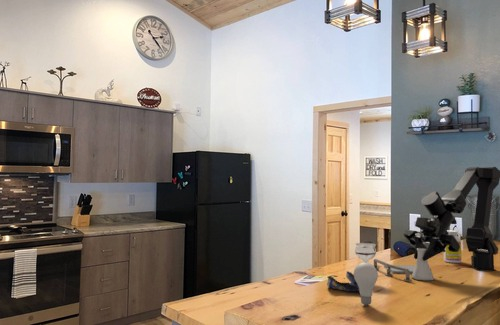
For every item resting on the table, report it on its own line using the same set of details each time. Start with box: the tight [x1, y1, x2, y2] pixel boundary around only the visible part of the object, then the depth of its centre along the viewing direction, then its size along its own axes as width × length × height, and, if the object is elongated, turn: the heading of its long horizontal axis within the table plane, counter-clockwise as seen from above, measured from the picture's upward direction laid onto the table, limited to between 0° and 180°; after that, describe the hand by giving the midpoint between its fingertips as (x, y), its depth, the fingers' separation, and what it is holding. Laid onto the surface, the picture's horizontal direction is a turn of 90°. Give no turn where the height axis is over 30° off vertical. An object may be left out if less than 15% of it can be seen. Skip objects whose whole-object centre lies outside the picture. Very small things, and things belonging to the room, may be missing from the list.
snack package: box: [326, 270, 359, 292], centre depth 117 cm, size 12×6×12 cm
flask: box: [410, 248, 435, 281], centre depth 132 cm, size 7×7×10 cm
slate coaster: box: [383, 264, 415, 275], centre depth 146 cm, size 11×11×1 cm
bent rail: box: [373, 258, 413, 283], centre depth 138 cm, size 4×22×4 cm, turn 14°
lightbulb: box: [353, 261, 379, 307], centre depth 102 cm, size 6×6×11 cm
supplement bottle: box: [442, 229, 463, 264], centre depth 164 cm, size 7×7×13 cm
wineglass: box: [354, 242, 377, 263], centre depth 129 cm, size 7×7×12 cm
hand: (419, 259), depth 132 cm, fingers closed on flask, 3 cm apart
